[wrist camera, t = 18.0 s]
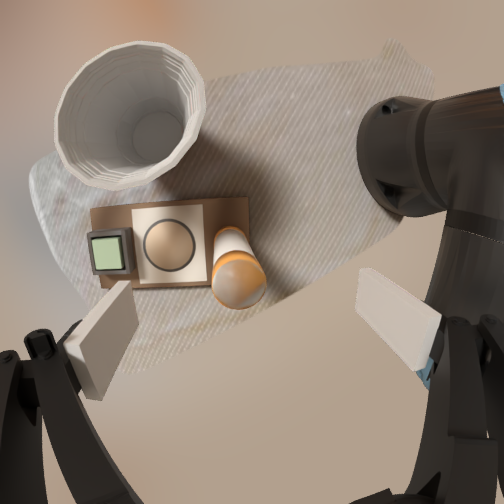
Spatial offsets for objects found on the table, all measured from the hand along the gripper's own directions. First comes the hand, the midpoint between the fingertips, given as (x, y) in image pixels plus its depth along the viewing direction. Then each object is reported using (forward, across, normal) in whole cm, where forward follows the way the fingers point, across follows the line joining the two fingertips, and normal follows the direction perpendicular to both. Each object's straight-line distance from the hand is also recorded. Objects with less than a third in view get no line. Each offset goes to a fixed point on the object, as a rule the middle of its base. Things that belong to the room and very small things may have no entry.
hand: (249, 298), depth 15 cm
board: (+15, +7, 0) cm, 16 cm away
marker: (+14, +1, 0) cm, 14 cm away
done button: (+13, +13, 0) cm, 19 cm away
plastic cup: (+15, +8, -12) cm, 20 cm away
